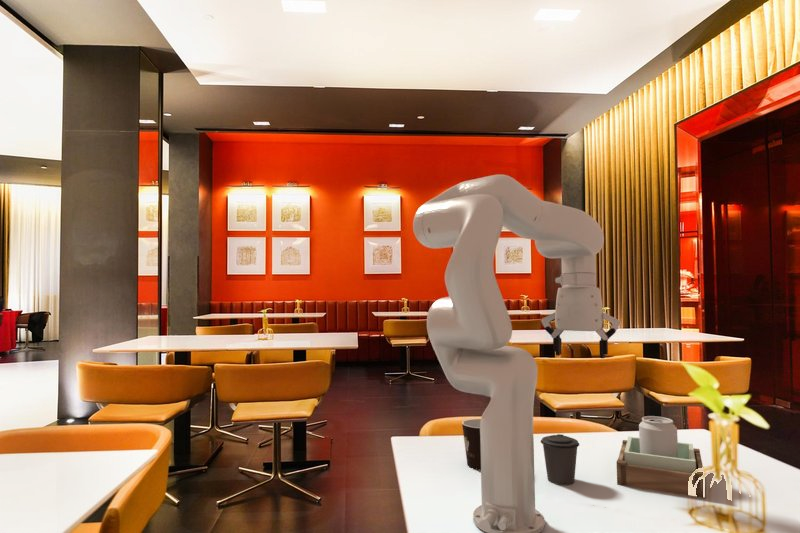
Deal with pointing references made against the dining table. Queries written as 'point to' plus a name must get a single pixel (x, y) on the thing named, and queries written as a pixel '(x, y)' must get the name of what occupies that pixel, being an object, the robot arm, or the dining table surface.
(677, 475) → the walnut crate
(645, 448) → the can
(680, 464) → the sage crate
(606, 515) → the dining table surface
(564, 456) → the coffee cup
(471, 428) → the coffee mug
